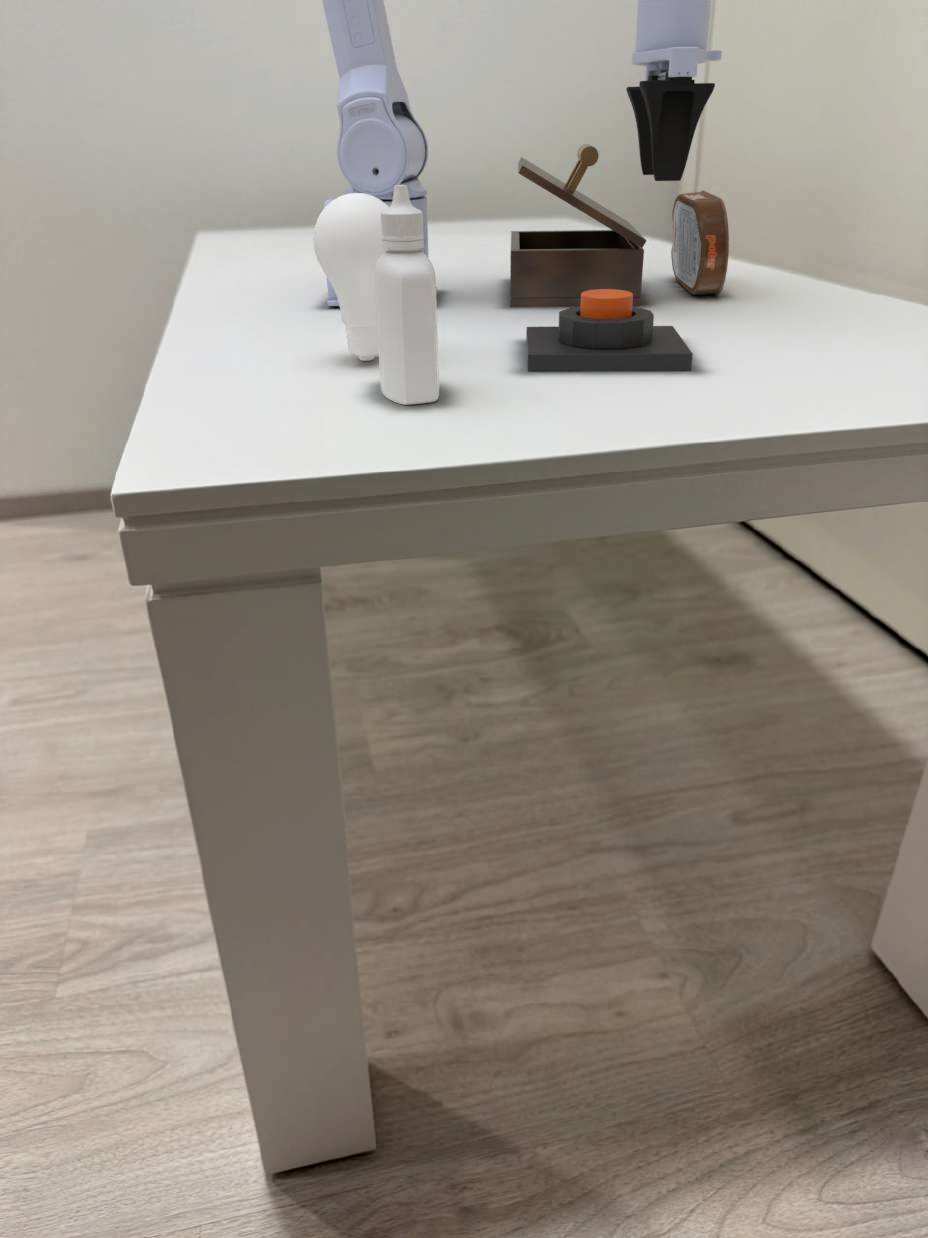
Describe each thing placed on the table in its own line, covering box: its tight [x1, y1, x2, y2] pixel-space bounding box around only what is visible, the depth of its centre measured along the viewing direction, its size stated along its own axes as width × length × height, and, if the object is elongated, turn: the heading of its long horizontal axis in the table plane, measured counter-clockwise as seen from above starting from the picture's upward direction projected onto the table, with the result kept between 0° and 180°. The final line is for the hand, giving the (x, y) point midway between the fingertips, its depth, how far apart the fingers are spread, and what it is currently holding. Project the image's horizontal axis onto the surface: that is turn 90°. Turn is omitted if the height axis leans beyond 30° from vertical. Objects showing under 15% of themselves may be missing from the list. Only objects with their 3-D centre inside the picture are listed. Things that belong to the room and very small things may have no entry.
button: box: [580, 289, 633, 319], centre depth 65 cm, size 4×4×2 cm
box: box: [509, 229, 645, 308], centre depth 88 cm, size 12×15×5 cm
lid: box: [517, 143, 648, 249], centre depth 84 cm, size 12×15×5 cm
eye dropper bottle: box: [374, 185, 440, 406], centre depth 56 cm, size 4×6×12 cm
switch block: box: [525, 306, 694, 373], centre depth 66 cm, size 11×9×3 cm
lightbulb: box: [312, 193, 389, 362], centre depth 64 cm, size 6×6×11 cm
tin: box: [670, 189, 730, 296], centre depth 88 cm, size 15×3×8 cm, turn 179°
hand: (660, 177), depth 79 cm, fingers open, 7 cm apart
